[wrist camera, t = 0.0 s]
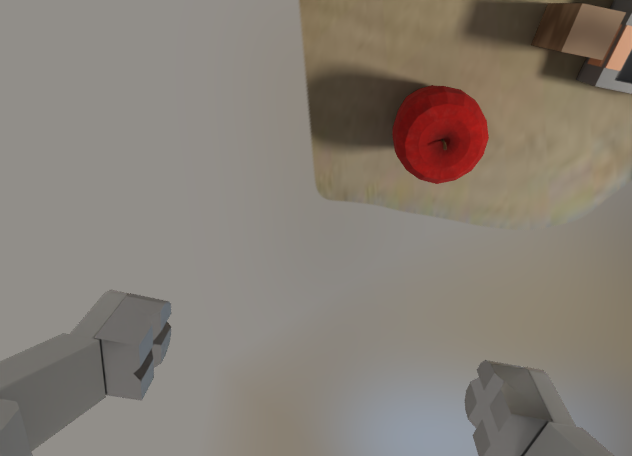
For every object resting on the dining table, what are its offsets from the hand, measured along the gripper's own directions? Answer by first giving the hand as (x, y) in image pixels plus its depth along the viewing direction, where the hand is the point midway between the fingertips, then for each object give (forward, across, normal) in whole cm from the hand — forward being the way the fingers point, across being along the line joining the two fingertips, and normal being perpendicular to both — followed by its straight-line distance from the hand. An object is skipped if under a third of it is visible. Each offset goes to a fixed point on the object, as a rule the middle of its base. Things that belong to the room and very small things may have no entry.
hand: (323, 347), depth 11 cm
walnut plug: (+48, -24, -10) cm, 55 cm away
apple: (+48, -12, +3) cm, 50 cm away
